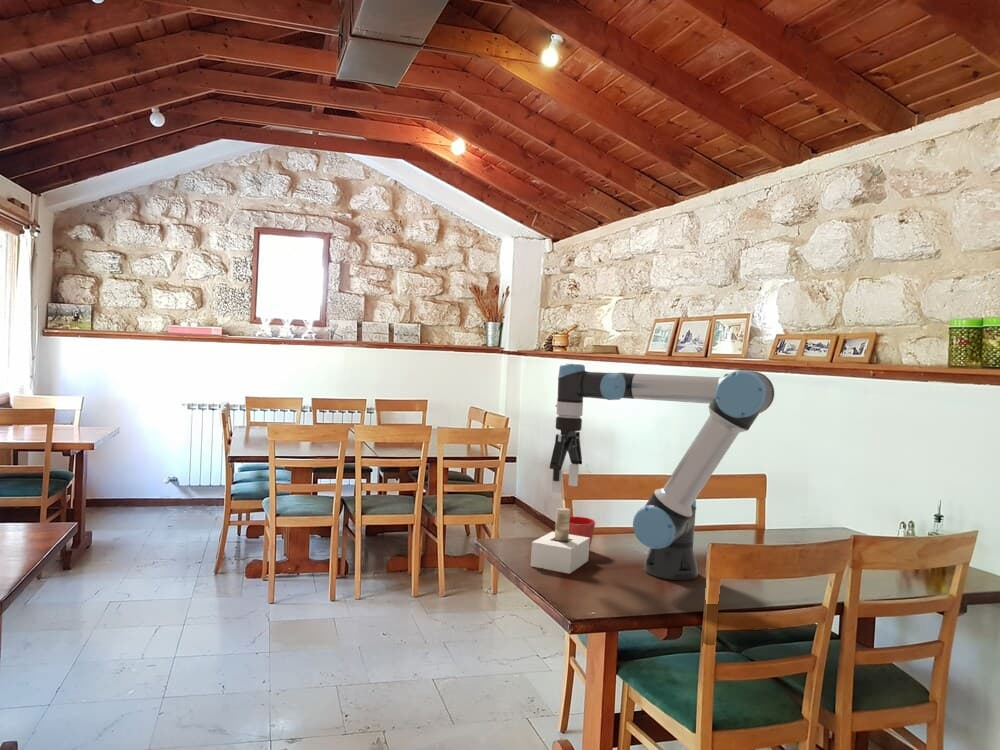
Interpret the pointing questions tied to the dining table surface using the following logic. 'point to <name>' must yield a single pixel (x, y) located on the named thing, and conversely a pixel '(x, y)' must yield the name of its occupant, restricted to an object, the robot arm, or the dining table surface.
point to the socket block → (560, 553)
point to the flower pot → (582, 527)
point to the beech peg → (562, 525)
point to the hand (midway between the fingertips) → (564, 489)
